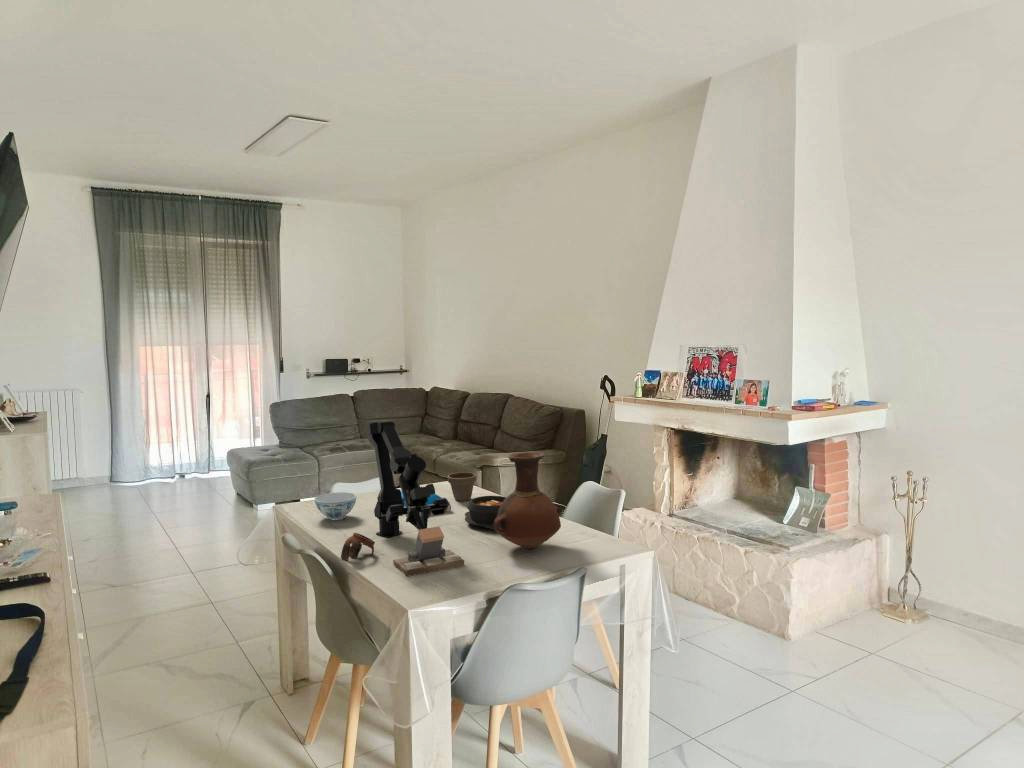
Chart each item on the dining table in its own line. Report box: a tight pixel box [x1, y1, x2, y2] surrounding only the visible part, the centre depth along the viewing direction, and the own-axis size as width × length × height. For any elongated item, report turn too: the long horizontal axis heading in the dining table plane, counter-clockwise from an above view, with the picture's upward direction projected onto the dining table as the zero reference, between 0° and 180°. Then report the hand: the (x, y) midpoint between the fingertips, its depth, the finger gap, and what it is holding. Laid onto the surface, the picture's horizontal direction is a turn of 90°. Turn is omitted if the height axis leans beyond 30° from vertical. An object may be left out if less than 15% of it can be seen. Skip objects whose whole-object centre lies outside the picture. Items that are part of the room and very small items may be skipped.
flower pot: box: [447, 471, 477, 502], centre depth 282 cm, size 12×11×10 cm
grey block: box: [413, 525, 445, 560], centre depth 206 cm, size 4×7×10 cm
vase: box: [493, 451, 562, 550], centre depth 220 cm, size 25×20×30 cm
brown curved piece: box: [340, 532, 376, 562], centre depth 214 cm, size 12×10×8 cm
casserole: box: [464, 495, 507, 530], centre depth 248 cm, size 25×19×8 cm
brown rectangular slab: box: [392, 547, 465, 577], centre depth 207 cm, size 11×18×4 cm, turn 119°
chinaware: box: [314, 491, 357, 520], centre depth 258 cm, size 15×15×8 cm
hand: (425, 534), depth 208 cm, fingers closed
